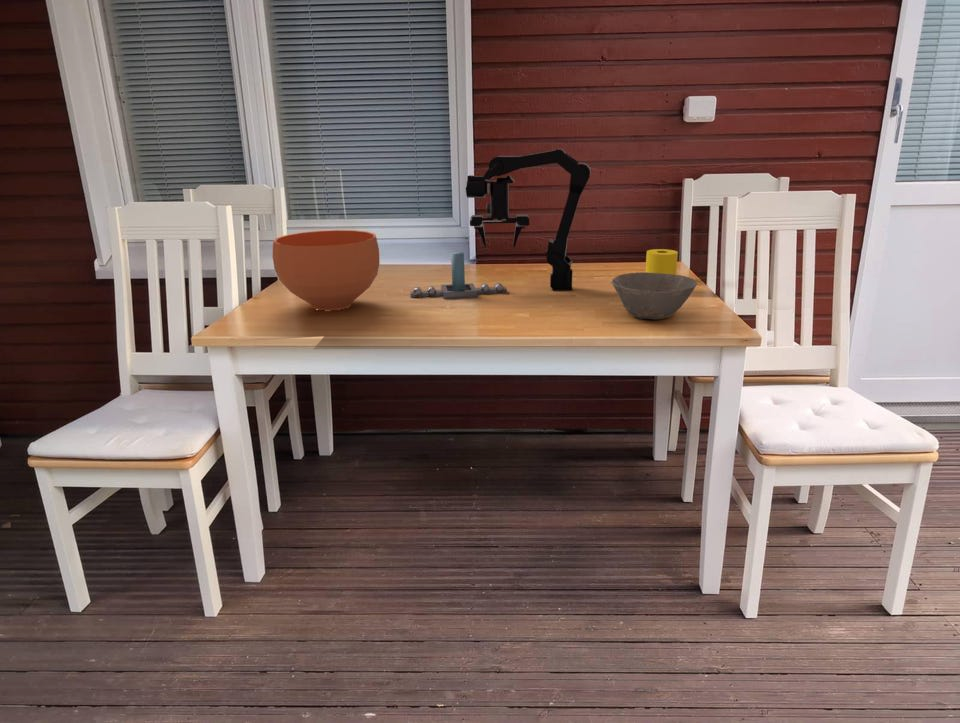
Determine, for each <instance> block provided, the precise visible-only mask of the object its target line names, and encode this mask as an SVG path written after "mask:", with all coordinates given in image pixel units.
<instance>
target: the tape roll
mask: <svg viewBox="0 0 960 723" xmlns="http://www.w3.org/2000/svg"><path fill="white" fill-rule="evenodd" d="M678 255H679V251H677V250H675V249H674V250H673V249H664V248H660V249H659V248H656V249H655V248H653V249H648V250H646V257H645V272H644V273H662V274H673V275H677V266H678V265H677V264H678Z"/></svg>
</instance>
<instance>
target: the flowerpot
mask: <svg viewBox="0 0 960 723" xmlns="http://www.w3.org/2000/svg"><path fill="white" fill-rule="evenodd" d="M272 261H273V262H272V263H273V269H274V271H275V273H276V276H277V277H278V280H279V282H281V284H283V285H284V287H285V288H286V289H287V290H288V291H289V292H290V293H291V294H293V295H294V296H296V297H297V298H299V299H302V300H303V301H304V302H306V303H308V304H310V305H311V306H312V309H313V308H315V309H318V310H338V311H341V310H340V309H343V310H345V309H344V308H347V307H349V308H351V307H352V303H353V302H354V301H356V299H358V298H359V297H360V296H361V295H362V294H363V293H365V291H367V290H368V289H370V287H371V286H372V284H373V283H374V281H375V279H376V277H377V276H378V273H379V272H378V271H379V268H380V264H381V263H380V248H379V244H378V239H377V235H376V233H374V232H371V231H370V232H369V231H365V230H357V229H354V230H353V229H351V230H350V229H331V230H330V229H328V230H327V229H326V230H314V231H313V230H312V231H301V232H297V233H290V234H284V235H281V236H278V237H276V238H275V239H274V240H273V242H272ZM350 306H351V307H350ZM315 309H314V310H315ZM347 309H348V308H347ZM318 310H317V311H318Z"/></svg>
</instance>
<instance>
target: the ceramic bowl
mask: <svg viewBox="0 0 960 723" xmlns="http://www.w3.org/2000/svg"><path fill="white" fill-rule="evenodd" d="M611 284H612V285H613V288H614V290H615V292H616V293H617V294H618V296H619V299H620V301H621V303H622V305H623V308H624V309H625V311H627V312H628V313H629V315H631V316H633V317H635V318H637V319H641V320H642V319H643V320H644V319H645V320H646V319H647V320H662V319H666V318H669V317H671V316H672V315H674V314H676V312H677V311H679V310H680V308H681V307H682V306H683V305H684V304H685V303H686V302H687V300H688V299H689V297H690V296H691V294H692V293H694V292H693V291H694V290H695V289H696V287H697V285H698V282H697V280H696V279H693V278H691V277H690V276H685V275H681V274H680V275H679V274H676V275H673V274H662V273H645V272H631V273H623V274H619V275H617V276H615V277H613V279H611Z"/></svg>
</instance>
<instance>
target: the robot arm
mask: <svg viewBox="0 0 960 723" xmlns="http://www.w3.org/2000/svg"><path fill="white" fill-rule="evenodd" d="M550 164H557V165H559V166H560V167H561V168H562V169H563V170H564V171H566V172H567V173H568V174H569V175H570V177H569V179H570V180H569V189H568V194H567V199H566V200H565V201H566V202H565V206H564V209H563V212H562V216H561V219H560V223H559V225H558V228H557V229H558V230H557V232H556V235H555V237H554V239H552V238H550V239H549V240H548V243H547V249H546V250H545V253H544V255H546V262H547V264H549V265H550V266H551V267H552V269H551V270H552V271H551V273H550V275H549V277H550V278H549V284H550V285H549V287H550V288H551V290H552V291H573V290H574V288H573V268H572V264H573V260H572V259H571V258H570V257H569V256H568V255H567V249H568V240H569V235H570V232H571V228H572V225H573V221H574V218H575V215H576V211H577V209H578V208H577V207H578V205H579V201H580V199H581V195H582V193H583V192H584V189H585V187H586V186H587V183H588V181H589V180H590V176H591V175H592V169H591V167H590V166H589V165H588V163H585V162H579V161H578V160H577V159H575V158H574V157H573V156H571V155H570V154H568V153H567V152H566V151H565V150H564V149H562V148H557V149H555V150H548V151H543V152H536V153H532V154H525V155H498V156H494V157H492V158H491V159H490V161H489V163H488V169H487V170H486V172H485V173H484V174H483V175H467V180H466V186H465V195H466V197H467V199H471V198H472V199H473V198H474V199H477V198H478V199H479V198H480V199H483V198H484V199H485V198H486V197H487V195H489V193H490V195H489V196H490V197H489V198H490V200H489V201H490V203H486V215H488V216H489V217H484V215H483V214H472V215H471V216H470V217H469V226H470V227H473V229H475V230H477V231H478V234H479V235H480V237H481V240H482V243H483V247H484V248H485V249H486V248H487V240H486V233H485V224H515V226H514V227H515V229H514V233H513V234H514V235H513V243H512V245H513V246H512V247H513V249H514V248H516V245H517V241H518V238H519V235H520V233H521V231H522V230H523V229H526V226H527V227H528V226H530V217H529V215H528V214H516V216H510V215H509V213H510V212H509V211H510V210H509V206H510V205H509V197H510V196H509V194H510V193H509V184H514V183H515V182H516V181H515V179H514V178H513V177H512V176H511V175H510V174H509V173H512V172H514V171H518V170H520V169H526V168H531V167H539V166H543V165H550ZM507 174H508V175H507ZM504 175H507V177H506V176H505V177H500V176H504ZM495 177H497V178H496V180H492V179H493V178H495Z"/></svg>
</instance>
